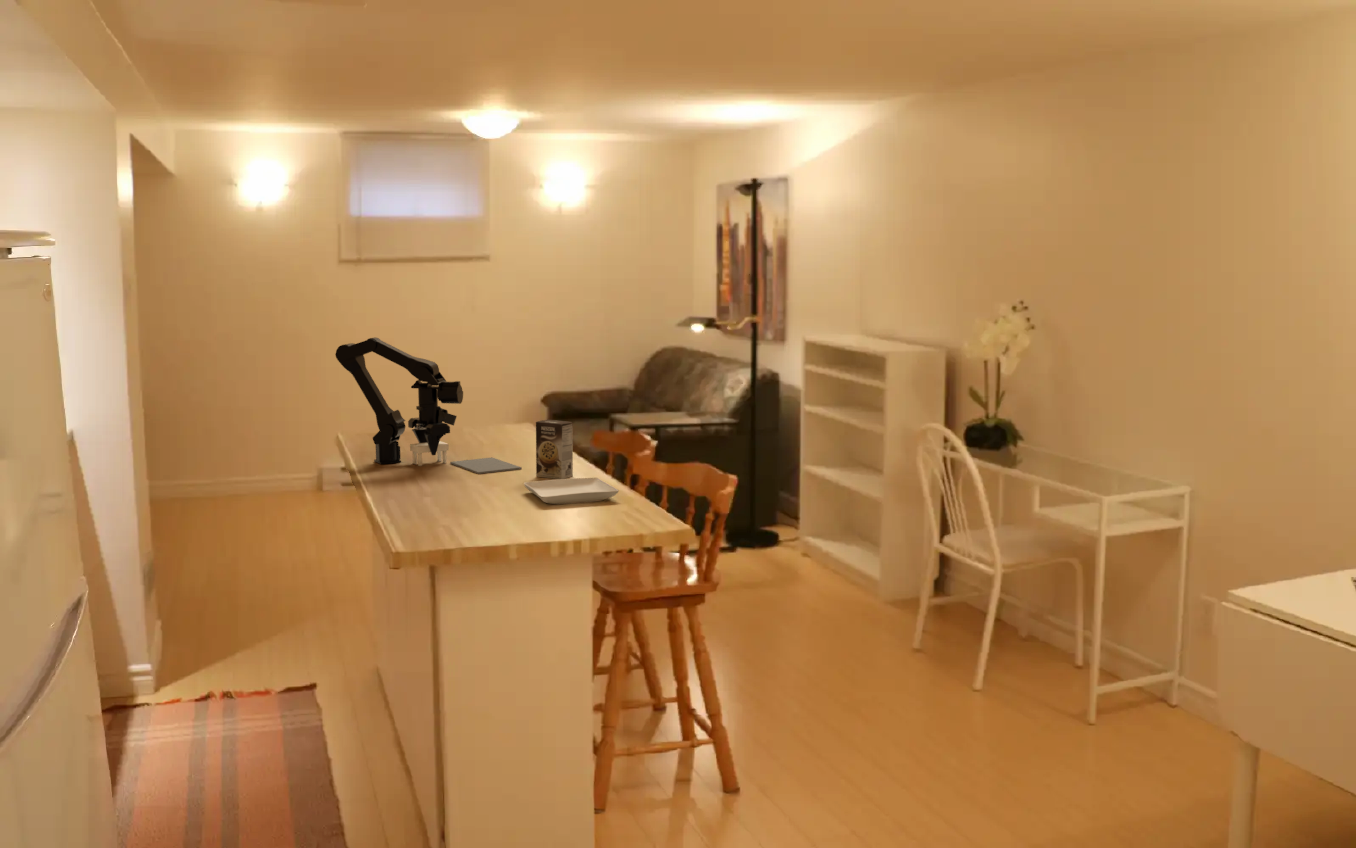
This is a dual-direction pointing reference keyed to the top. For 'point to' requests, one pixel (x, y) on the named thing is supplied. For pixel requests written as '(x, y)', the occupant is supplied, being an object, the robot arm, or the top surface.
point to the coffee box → (554, 449)
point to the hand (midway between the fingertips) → (429, 453)
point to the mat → (485, 465)
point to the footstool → (424, 448)
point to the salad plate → (571, 490)
